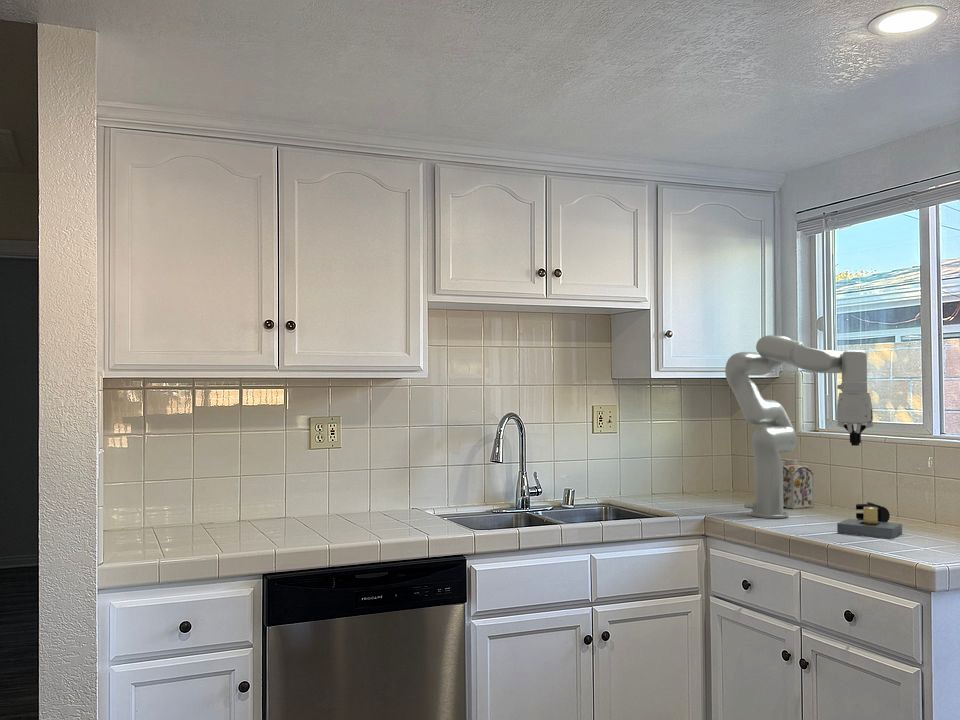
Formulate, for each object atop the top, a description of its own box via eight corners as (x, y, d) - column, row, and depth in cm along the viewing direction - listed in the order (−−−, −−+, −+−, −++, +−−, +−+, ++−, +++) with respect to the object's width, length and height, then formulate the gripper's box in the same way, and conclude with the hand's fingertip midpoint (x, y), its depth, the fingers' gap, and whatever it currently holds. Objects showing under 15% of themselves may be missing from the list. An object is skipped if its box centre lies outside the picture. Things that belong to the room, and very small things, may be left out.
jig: (837, 532, 264) (837, 523, 264) (848, 527, 273) (848, 518, 273) (892, 538, 254) (892, 528, 254) (902, 533, 263) (902, 523, 263)
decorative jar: (769, 505, 324) (768, 458, 325) (790, 503, 330) (790, 457, 330) (793, 509, 314) (792, 461, 314) (815, 507, 319) (814, 460, 319)
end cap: (890, 527, 276) (890, 506, 276) (868, 526, 276) (868, 506, 276) (876, 521, 286) (876, 502, 286) (855, 521, 286) (855, 502, 286)
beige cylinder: (861, 533, 263) (861, 507, 263) (865, 531, 266) (865, 506, 266) (875, 534, 261) (875, 509, 261) (879, 533, 264) (878, 507, 264)
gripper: (827, 388, 273) (827, 445, 273) (876, 388, 264) (877, 447, 263) (834, 388, 279) (834, 443, 278) (882, 388, 269) (883, 445, 269)
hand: (855, 445), depth 271 cm, fingers closed
